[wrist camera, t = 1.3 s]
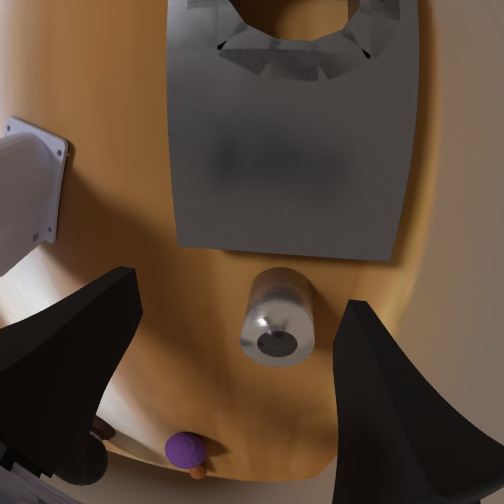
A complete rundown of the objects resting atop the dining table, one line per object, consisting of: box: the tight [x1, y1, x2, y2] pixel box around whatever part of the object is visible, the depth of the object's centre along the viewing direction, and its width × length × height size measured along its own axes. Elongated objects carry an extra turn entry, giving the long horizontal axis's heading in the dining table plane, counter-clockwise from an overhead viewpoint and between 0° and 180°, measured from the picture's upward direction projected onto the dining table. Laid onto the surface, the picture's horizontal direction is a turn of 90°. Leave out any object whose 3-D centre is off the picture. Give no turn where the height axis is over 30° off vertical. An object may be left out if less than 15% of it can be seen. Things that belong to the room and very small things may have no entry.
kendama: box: [165, 432, 207, 479], centre depth 39 cm, size 6×6×20 cm
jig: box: [167, 0, 419, 262], centre depth 12 cm, size 20×12×3 cm, turn 179°
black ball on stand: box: [56, 415, 115, 486], centre depth 37 cm, size 13×13×15 cm
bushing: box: [240, 267, 315, 367], centre depth 19 cm, size 4×4×5 cm
